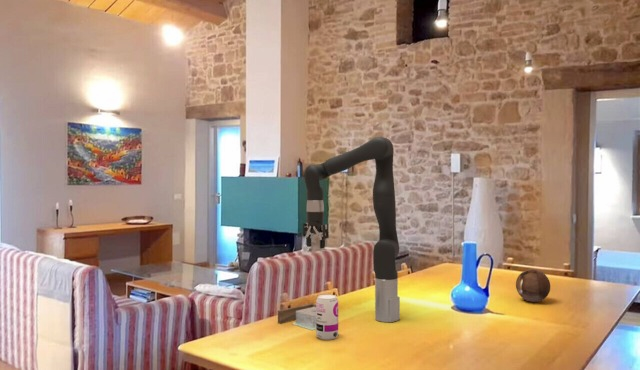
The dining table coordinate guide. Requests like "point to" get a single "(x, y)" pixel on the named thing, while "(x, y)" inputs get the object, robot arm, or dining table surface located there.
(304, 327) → the pad
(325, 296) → the supplement can
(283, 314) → the brown wooden corner wall
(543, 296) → the wooden sphere
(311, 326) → the bracket
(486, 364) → the dining table surface
